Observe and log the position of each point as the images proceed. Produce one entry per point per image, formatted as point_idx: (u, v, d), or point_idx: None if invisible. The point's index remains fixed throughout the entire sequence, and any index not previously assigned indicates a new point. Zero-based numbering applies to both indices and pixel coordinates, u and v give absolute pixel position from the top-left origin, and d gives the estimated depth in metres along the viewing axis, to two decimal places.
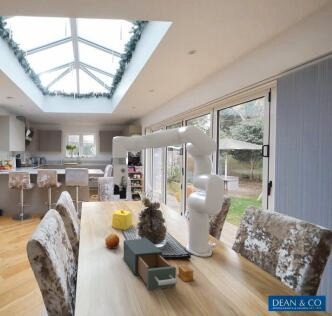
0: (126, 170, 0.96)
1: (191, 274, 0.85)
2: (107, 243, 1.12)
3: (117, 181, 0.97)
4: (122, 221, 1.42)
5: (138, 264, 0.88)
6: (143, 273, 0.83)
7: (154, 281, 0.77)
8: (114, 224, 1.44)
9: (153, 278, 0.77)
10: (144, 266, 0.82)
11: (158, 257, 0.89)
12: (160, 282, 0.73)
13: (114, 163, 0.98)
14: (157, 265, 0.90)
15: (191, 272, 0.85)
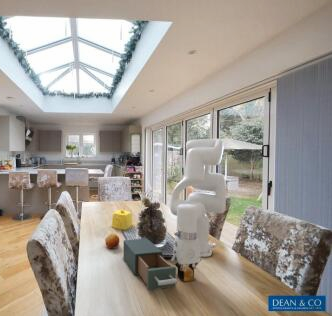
0: (178, 245, 0.83)
1: (191, 274, 0.85)
2: (107, 243, 1.12)
3: None
4: (122, 221, 1.42)
5: (138, 264, 0.88)
6: (143, 273, 0.83)
7: (154, 281, 0.77)
8: (114, 224, 1.44)
9: (153, 278, 0.77)
10: (144, 266, 0.82)
11: (158, 257, 0.89)
12: (160, 282, 0.73)
13: None
14: (157, 265, 0.90)
15: (191, 272, 0.85)
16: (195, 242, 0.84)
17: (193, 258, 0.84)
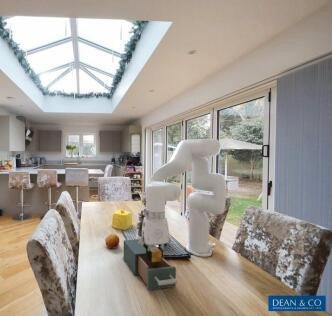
0: (146, 225, 0.81)
1: (160, 254, 0.82)
2: (107, 243, 1.12)
3: None
4: (122, 221, 1.42)
5: (138, 264, 0.88)
6: (143, 273, 0.83)
7: (154, 281, 0.77)
8: (114, 224, 1.44)
9: (153, 278, 0.77)
10: (144, 266, 0.82)
11: None
12: (160, 282, 0.73)
13: None
14: (157, 265, 0.90)
15: (159, 253, 0.82)
16: (163, 221, 0.82)
17: (161, 238, 0.81)
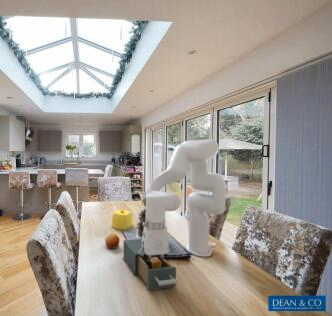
0: (146, 236, 0.81)
1: (160, 265, 0.82)
2: (107, 243, 1.12)
3: None
4: (122, 221, 1.42)
5: (138, 264, 0.88)
6: (143, 274, 0.83)
7: (154, 281, 0.77)
8: (114, 224, 1.44)
9: (153, 278, 0.77)
10: (144, 266, 0.81)
11: None
12: (160, 282, 0.73)
13: None
14: None
15: (159, 263, 0.82)
16: (163, 232, 0.82)
17: (161, 249, 0.81)
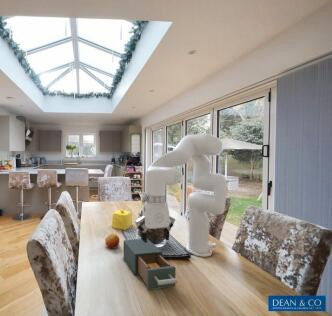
0: (146, 209, 0.81)
1: None
2: (107, 243, 1.12)
3: None
4: (122, 221, 1.42)
5: (138, 264, 0.88)
6: (142, 273, 0.83)
7: (154, 281, 0.78)
8: (114, 224, 1.44)
9: (153, 278, 0.78)
10: (144, 265, 0.82)
11: (158, 257, 0.89)
12: (160, 282, 0.74)
13: None
14: None
15: None
16: (163, 205, 0.82)
17: (162, 222, 0.81)
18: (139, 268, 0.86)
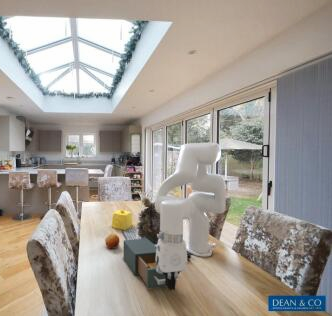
0: (161, 250, 0.70)
1: None
2: (107, 243, 1.12)
3: None
4: (122, 221, 1.42)
5: (137, 264, 0.88)
6: (142, 273, 0.84)
7: (153, 280, 0.78)
8: (114, 224, 1.44)
9: (152, 277, 0.78)
10: (144, 265, 0.82)
11: None
12: (159, 281, 0.74)
13: None
14: None
15: None
16: (181, 245, 0.70)
17: (179, 265, 0.70)
18: (139, 268, 0.87)
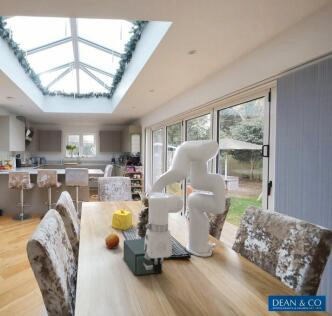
0: (149, 238, 0.79)
1: None
2: (107, 243, 1.12)
3: None
4: (122, 221, 1.42)
5: None
6: None
7: (143, 267, 0.87)
8: (114, 224, 1.44)
9: (142, 264, 0.87)
10: None
11: None
12: (147, 267, 0.83)
13: None
14: None
15: None
16: (166, 234, 0.80)
17: (164, 251, 0.80)
18: None
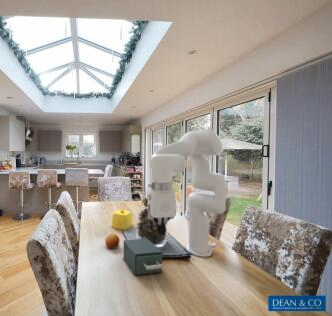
0: (152, 197, 0.76)
1: None
2: (107, 243, 1.12)
3: None
4: (122, 221, 1.42)
5: None
6: None
7: (143, 267, 0.87)
8: (114, 224, 1.44)
9: (142, 264, 0.87)
10: None
11: None
12: (147, 267, 0.83)
13: None
14: None
15: None
16: (170, 193, 0.77)
17: (168, 211, 0.77)
18: None
